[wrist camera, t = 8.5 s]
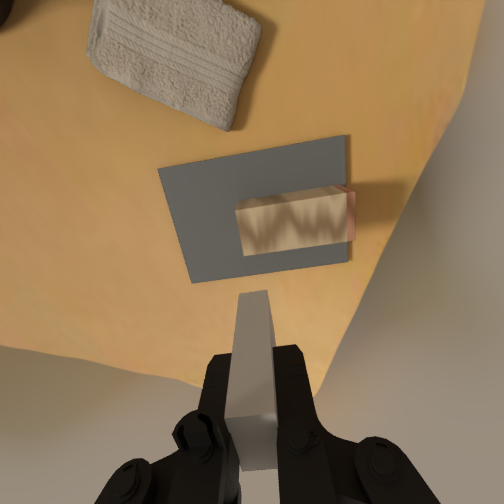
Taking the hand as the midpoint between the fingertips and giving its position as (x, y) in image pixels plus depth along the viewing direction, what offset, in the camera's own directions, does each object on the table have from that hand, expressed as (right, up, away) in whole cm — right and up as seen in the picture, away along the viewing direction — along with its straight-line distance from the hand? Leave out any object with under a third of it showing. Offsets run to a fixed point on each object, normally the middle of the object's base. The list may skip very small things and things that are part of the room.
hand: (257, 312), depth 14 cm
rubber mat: (+1, +8, +23) cm, 24 cm away
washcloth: (-9, +27, +16) cm, 33 cm away
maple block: (-2, +7, +20) cm, 21 cm away
